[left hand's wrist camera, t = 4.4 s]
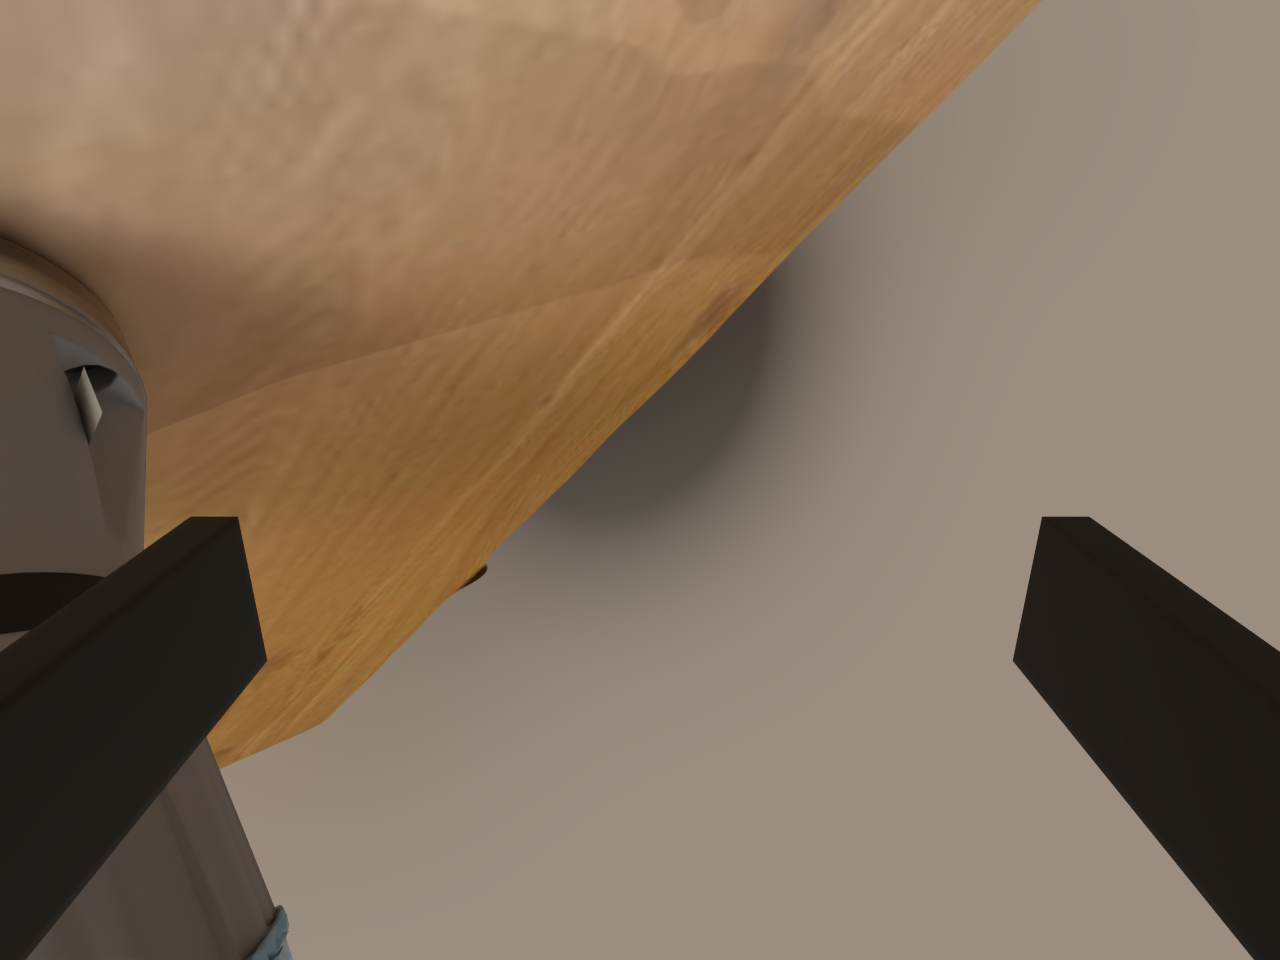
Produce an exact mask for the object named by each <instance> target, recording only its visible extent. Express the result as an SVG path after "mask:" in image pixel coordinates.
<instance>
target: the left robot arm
mask: <svg viewBox="0 0 1280 960" xmlns="http://www.w3.org/2000/svg"><path fill="white" fill-rule="evenodd" d="M146 431H147V398H146V393H145V389H144V385H143V382H142V380H141V378H140V375H139V373H138V371H137V368H136V366H135V363H134V361H133V359H132V356H131V354H130V352H129V349H128V347H127V345H126V342H125V340H124V338H123V335H122V333H121V331H120V329H119V327H118V325H117V323H116V322H115V320H114V319H113V317H112V316H111V314H110V313H109V311H108V310H107V309H106V308H105V307H104V306H103V304H102V303H101V302H100V301H99V300H98V299H97V298H96V297H95V296H94V295H93V294H92V293H91V292H90V291H89V290H88V289H86V288H85V287H84V286H83V285H82V284H81V283H80V282H78V281H77V280H76V279H74V278H73V277H71V276H70V275H69V274H67V273H66V272H64V271H63V270H61V269H60V268H59V267H57V266H55V265H54V264H52V263H50V262H48V261H47V260H45V259H43V258H42V257H40V256H38V255H36V254H35V253H33V252H31V251H29V250H27V249H24V248H22V247H20V246H18V245H16V244H14V243H12V242H10V241H8V240H6V239H3V238H1V237H0V960H293V959H292V955H291V952H290V949H289V946H288V943H287V940H286V935H287V932H288V927H289V922H288V918H287V914H286V913H285V910H284V908H283V906H281V905H279V906H277V907H274V905H273V902H272V900H271V897H270V895H269V892H268V890H267V887H266V885H265V882H264V880H263V877H262V875H261V872H260V870H259V867H258V865H257V862H256V860H255V857H254V855H253V852H252V850H251V847H250V845H249V842H248V840H247V837H246V835H245V832H244V830H243V827H242V825H241V822H240V820H239V818H238V815H237V813H236V810H235V808H234V805H233V803H232V800H231V798H230V795H229V793H228V790H227V788H226V785H225V783H224V780H223V778H222V775H221V773H220V770H219V768H218V765H217V763H216V760H215V758H214V755H213V753H212V750H211V748H210V745H209V743H208V740H207V738H206V736H207V735H208V733H209V732H210V731H211V730H212V729H213V727H214V726H215V725H216V724H217V722H218V721H219V720H220V719H221V717H222V716H223V715H224V714H225V712H226V711H227V710H228V709H229V707H230V706H231V705H232V704H233V703H234V701H235V700H236V699H237V698H238V696H239V695H240V694H241V693H242V691H243V690H244V689H245V688H246V686H247V685H248V684H249V683H250V681H251V680H252V679H253V678H254V676H255V675H256V674H257V673H258V672H259V670H260V669H261V668H262V667H263V665H264V664H265V663H266V662H267V657H266V653H265V648H264V643H263V638H262V633H261V628H260V623H259V618H258V613H257V608H256V603H255V599H254V594H253V589H252V584H251V579H250V574H249V569H248V564H247V559H246V554H245V550H244V545H243V540H242V535H241V530H240V525H239V520H238V517H190V518H188V519H187V520H186V521H184V522H183V523H181V524H180V525H179V526H177V527H176V528H174V529H173V530H171V531H170V532H169V533H167V534H166V535H164V536H163V537H162V538H160V539H159V540H157V541H156V542H155V543H153V544H152V545H150V546H149V547H147V548H146V549H145V550H144V514H145V473H146ZM1013 662H1014V663H1015V664H1016V665H1017V667H1018V668H1019V669H1020V670H1021V671H1022V673H1023V674H1024V675H1025V676H1026V678H1027V679H1028V680H1029V681H1030V683H1031V684H1032V685H1033V686H1034V688H1035V689H1036V690H1037V691H1038V693H1039V694H1040V695H1041V696H1042V698H1043V699H1044V700H1045V701H1046V702H1047V704H1048V705H1049V706H1050V707H1051V709H1052V710H1053V711H1054V712H1055V714H1056V715H1057V716H1058V717H1059V719H1060V720H1061V721H1062V722H1063V724H1064V725H1065V726H1066V727H1067V729H1068V730H1069V731H1070V732H1071V733H1072V735H1073V736H1074V737H1075V738H1076V740H1077V741H1078V742H1079V743H1080V745H1081V746H1082V747H1083V748H1084V750H1085V751H1086V752H1087V753H1088V755H1089V756H1090V757H1091V758H1092V760H1093V761H1094V762H1095V763H1096V764H1097V766H1098V767H1099V768H1100V769H1101V771H1102V772H1103V773H1104V774H1105V776H1106V777H1107V778H1108V779H1109V781H1110V782H1111V783H1112V784H1113V786H1114V787H1115V788H1116V789H1117V790H1118V792H1119V793H1120V794H1121V795H1122V797H1123V798H1124V799H1125V800H1126V802H1127V803H1128V804H1129V805H1130V807H1131V808H1132V809H1133V810H1134V812H1135V813H1136V814H1137V815H1138V817H1139V818H1140V819H1141V820H1142V821H1143V823H1144V824H1145V825H1146V826H1147V828H1148V829H1149V830H1150V831H1151V833H1152V834H1153V835H1154V836H1155V838H1156V839H1157V840H1158V841H1159V843H1160V844H1161V845H1162V846H1163V848H1164V849H1165V850H1166V851H1167V852H1168V854H1169V855H1170V856H1171V857H1172V859H1173V860H1174V861H1175V862H1176V864H1177V865H1178V866H1179V867H1180V869H1181V870H1182V871H1183V872H1184V874H1185V875H1186V876H1187V877H1188V878H1189V880H1190V881H1191V882H1192V883H1193V885H1194V886H1195V887H1196V888H1197V890H1198V891H1199V892H1200V893H1201V895H1202V896H1203V897H1204V898H1205V900H1206V901H1207V902H1208V903H1209V905H1210V906H1211V907H1212V908H1213V909H1214V911H1215V912H1216V913H1217V914H1218V916H1219V917H1220V918H1221V919H1222V921H1223V922H1224V923H1225V924H1226V925H1227V927H1228V928H1229V929H1230V931H1231V932H1232V933H1233V934H1234V936H1235V937H1236V938H1237V939H1238V940H1239V942H1240V943H1241V944H1242V945H1243V947H1244V948H1245V949H1246V950H1247V952H1248V953H1249V954H1250V955H1251V957H1252V958H1253V959H1254V960H1280V652H1279V651H1278V650H1276V649H1275V648H1274V647H1272V646H1271V645H1269V644H1268V643H1267V642H1265V641H1264V640H1262V639H1261V638H1260V637H1258V636H1257V635H1255V634H1254V633H1253V632H1251V631H1250V630H1248V629H1247V628H1246V627H1244V626H1243V625H1241V624H1240V623H1238V622H1237V621H1236V620H1234V619H1233V618H1231V617H1230V616H1229V615H1227V614H1226V613H1224V612H1223V611H1221V610H1220V609H1219V608H1217V607H1216V606H1214V605H1213V604H1212V603H1210V602H1209V601H1207V600H1206V599H1205V598H1203V597H1202V596H1200V595H1199V594H1198V593H1196V592H1195V591H1193V590H1192V589H1190V588H1189V587H1188V586H1186V585H1185V584H1183V583H1182V582H1181V581H1179V580H1178V579H1176V578H1175V577H1174V576H1172V575H1171V574H1169V573H1168V572H1166V571H1165V570H1164V569H1162V568H1161V567H1159V566H1158V565H1157V564H1155V563H1154V562H1152V561H1151V560H1149V559H1148V558H1147V557H1145V556H1144V555H1142V554H1141V553H1140V552H1138V551H1137V550H1135V549H1134V548H1133V547H1131V546H1130V545H1128V544H1127V543H1125V542H1124V541H1123V540H1121V539H1120V538H1118V537H1117V536H1116V535H1114V534H1113V533H1111V532H1110V531H1108V530H1107V529H1106V528H1104V527H1103V526H1101V525H1100V524H1099V523H1097V522H1096V521H1094V520H1093V519H1092V518H1090V517H1042V520H1041V525H1040V530H1039V535H1038V540H1037V545H1036V550H1035V554H1034V560H1033V564H1032V569H1031V574H1030V579H1029V584H1028V589H1027V594H1026V599H1025V604H1024V608H1023V613H1022V618H1021V623H1020V628H1019V633H1018V638H1017V643H1016V648H1015V653H1014V657H1013Z"/></svg>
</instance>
